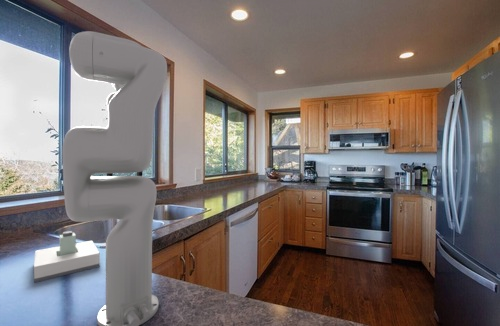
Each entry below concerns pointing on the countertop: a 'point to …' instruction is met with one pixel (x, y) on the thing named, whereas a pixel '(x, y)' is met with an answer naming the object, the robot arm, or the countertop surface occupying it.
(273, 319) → the countertop surface
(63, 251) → the pale green block
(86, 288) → the countertop surface
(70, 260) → the block
